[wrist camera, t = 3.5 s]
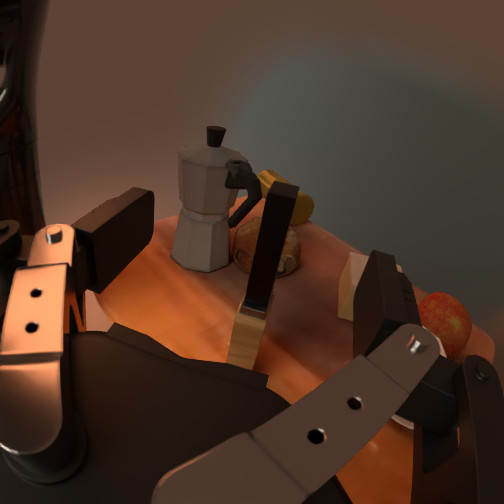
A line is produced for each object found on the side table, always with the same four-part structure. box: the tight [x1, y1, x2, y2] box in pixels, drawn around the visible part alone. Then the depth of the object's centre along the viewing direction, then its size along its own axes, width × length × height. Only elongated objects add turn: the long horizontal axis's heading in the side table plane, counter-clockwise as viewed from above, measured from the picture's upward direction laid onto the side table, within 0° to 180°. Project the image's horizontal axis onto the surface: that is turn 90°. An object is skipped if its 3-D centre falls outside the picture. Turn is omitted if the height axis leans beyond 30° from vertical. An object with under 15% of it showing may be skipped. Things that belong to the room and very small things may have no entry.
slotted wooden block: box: [338, 252, 402, 321], centre depth 41 cm, size 8×8×5 cm
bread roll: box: [233, 217, 301, 278], centre depth 47 cm, size 10×10×8 cm
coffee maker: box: [170, 126, 263, 272], centre depth 40 cm, size 15×9×18 cm, turn 45°
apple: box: [418, 292, 472, 360], centre depth 35 cm, size 8×8×8 cm
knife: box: [240, 181, 299, 320], centre depth 26 cm, size 4×2×18 cm, turn 166°
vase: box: [257, 170, 314, 225], centre depth 63 cm, size 6×6×14 cm
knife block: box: [226, 291, 276, 370], centre depth 28 cm, size 4×2×9 cm, turn 166°
